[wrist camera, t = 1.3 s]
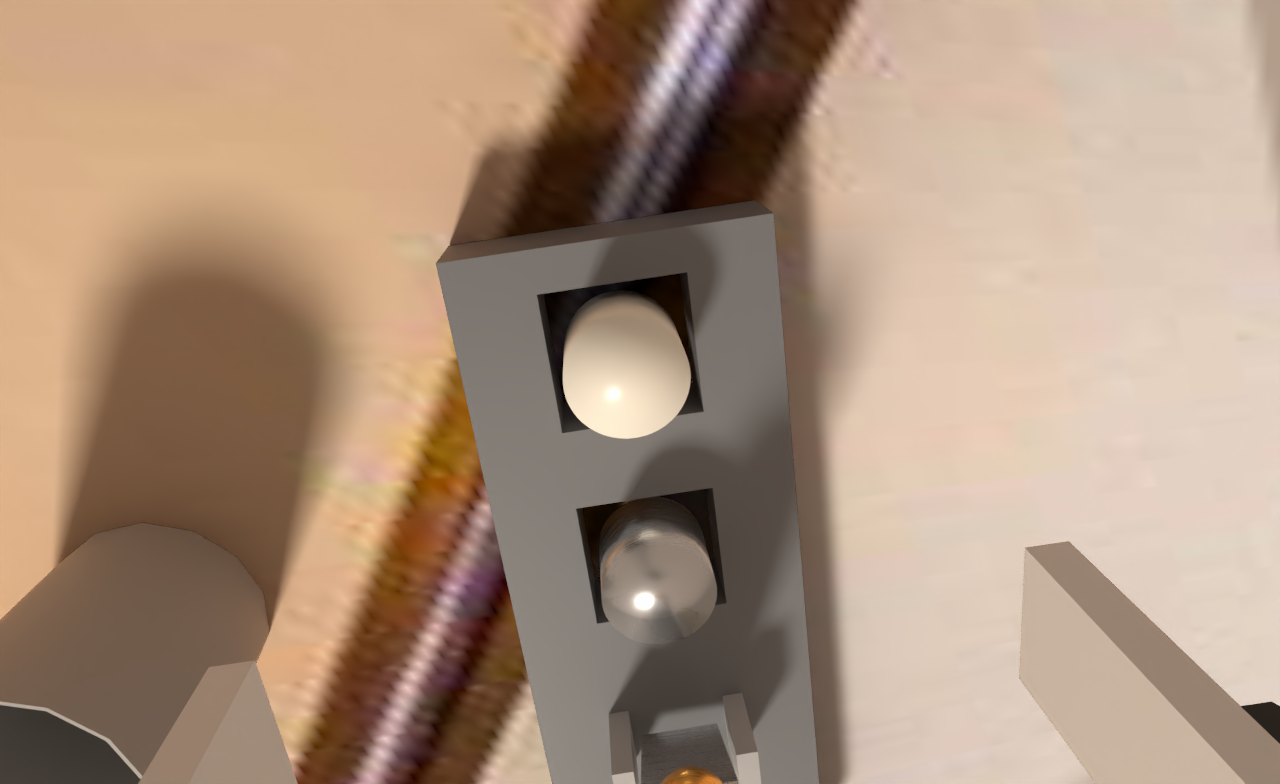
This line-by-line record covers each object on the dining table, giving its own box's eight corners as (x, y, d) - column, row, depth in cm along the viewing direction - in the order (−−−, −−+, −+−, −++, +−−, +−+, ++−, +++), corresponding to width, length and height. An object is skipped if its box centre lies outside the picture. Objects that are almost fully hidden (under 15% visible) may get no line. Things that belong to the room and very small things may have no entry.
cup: (224, 504, 33) (88, 672, 24) (298, 673, 36) (202, 882, 27) (13, 551, 34) (-204, 737, 24) (104, 716, 36) (-59, 939, 27)
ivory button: (554, 299, 29) (552, 328, 26) (671, 282, 30) (682, 308, 26) (573, 407, 31) (573, 447, 28) (684, 390, 31) (697, 428, 28)
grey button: (591, 505, 32) (593, 554, 29) (697, 489, 32) (710, 536, 29) (607, 595, 34) (610, 652, 30) (708, 579, 34) (722, 634, 30)
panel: (448, 245, 31) (419, 286, 25) (755, 200, 31) (797, 230, 25) (582, 865, 41) (584, 995, 35) (810, 828, 41) (848, 952, 36)
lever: (639, 719, 34) (637, 787, 25) (714, 707, 34) (738, 770, 25) (648, 783, 34) (649, 875, 25) (724, 770, 34) (753, 858, 25)
